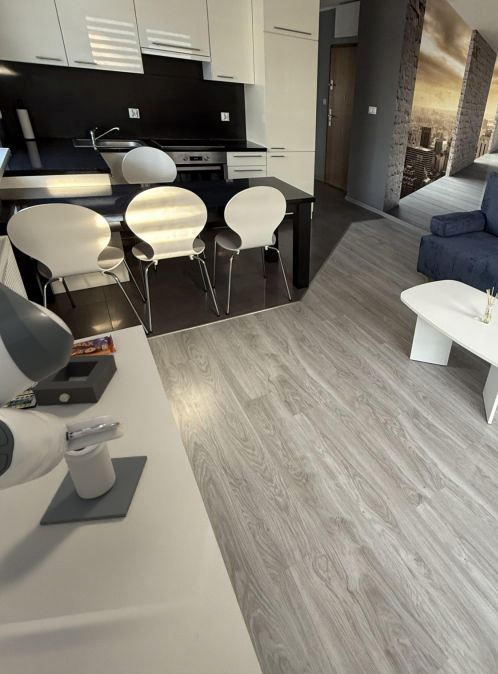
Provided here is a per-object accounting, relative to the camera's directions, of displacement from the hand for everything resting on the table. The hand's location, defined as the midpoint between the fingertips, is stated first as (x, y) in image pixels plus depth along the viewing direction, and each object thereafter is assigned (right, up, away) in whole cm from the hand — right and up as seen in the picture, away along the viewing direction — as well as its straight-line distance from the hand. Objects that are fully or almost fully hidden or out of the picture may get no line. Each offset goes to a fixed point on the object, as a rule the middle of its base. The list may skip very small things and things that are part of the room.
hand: (56, 443), depth 63 cm
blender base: (-23, 0, +38) cm, 45 cm away
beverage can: (-2, -14, +14) cm, 20 cm away
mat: (-2, -14, +14) cm, 20 cm away
